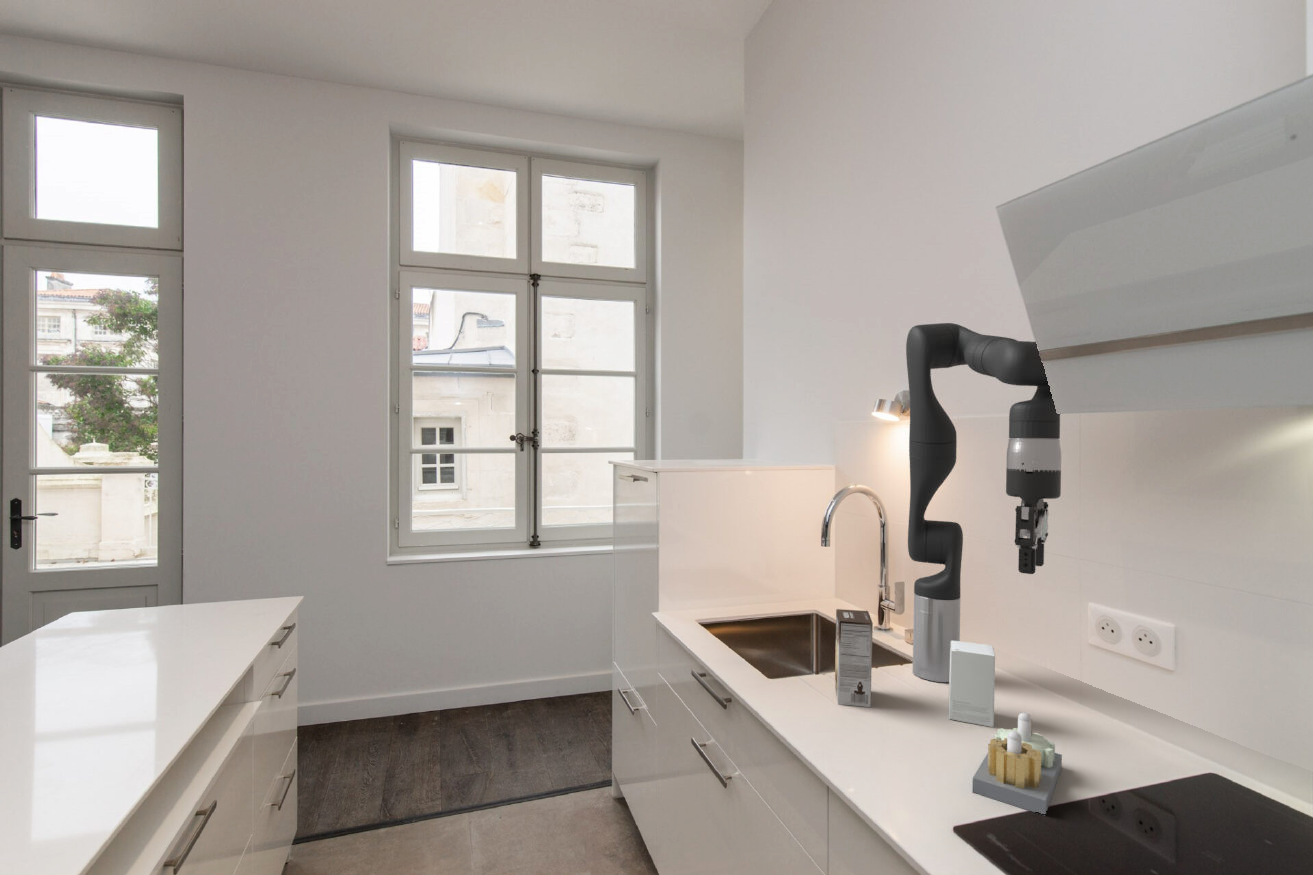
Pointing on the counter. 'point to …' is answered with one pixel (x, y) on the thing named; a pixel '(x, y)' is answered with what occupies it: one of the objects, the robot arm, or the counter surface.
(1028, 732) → the gear board
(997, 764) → the brass gear
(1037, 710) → the counter surface
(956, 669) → the supplement box
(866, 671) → the coffee box
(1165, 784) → the counter surface
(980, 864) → the counter surface
